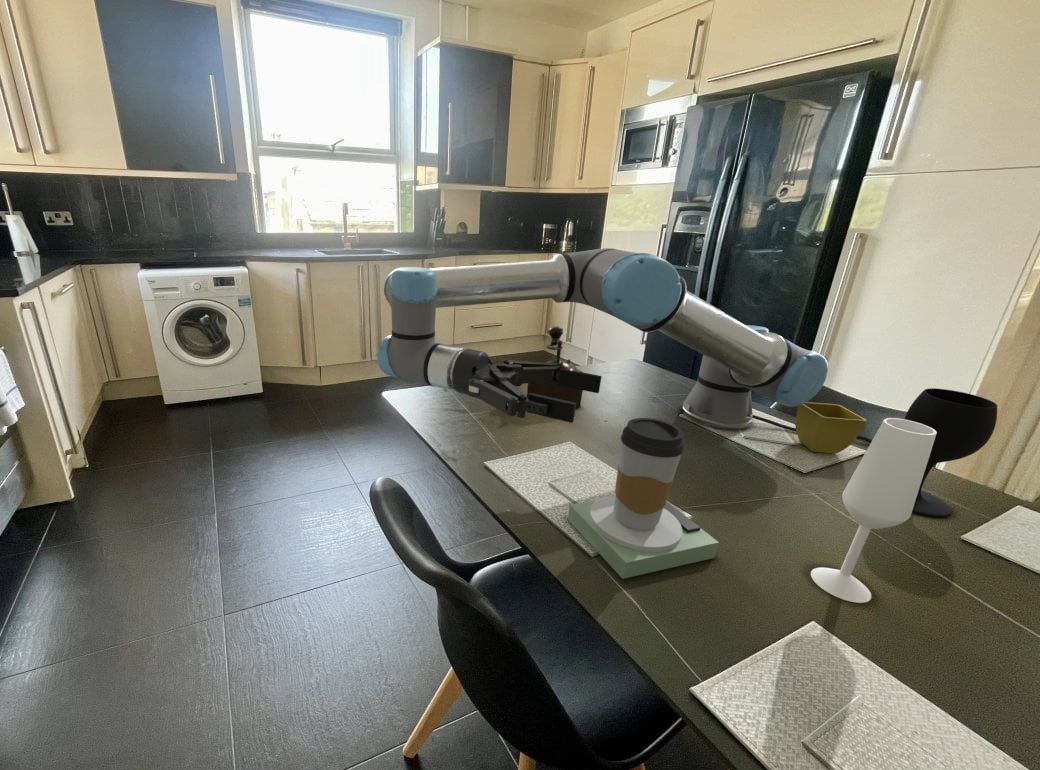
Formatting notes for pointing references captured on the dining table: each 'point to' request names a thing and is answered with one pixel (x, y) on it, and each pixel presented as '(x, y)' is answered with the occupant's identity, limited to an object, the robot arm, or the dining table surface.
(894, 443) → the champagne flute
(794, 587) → the dining table surface
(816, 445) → the flower pot
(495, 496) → the dining table surface
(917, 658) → the dining table surface
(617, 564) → the kitchen scale
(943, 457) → the wine glass
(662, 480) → the coffee cup
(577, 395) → the brown coffee grinder
